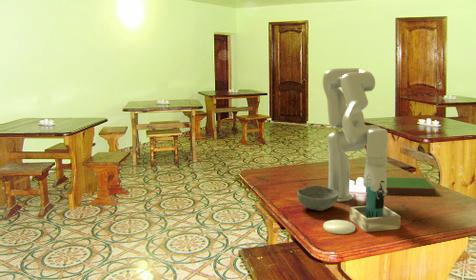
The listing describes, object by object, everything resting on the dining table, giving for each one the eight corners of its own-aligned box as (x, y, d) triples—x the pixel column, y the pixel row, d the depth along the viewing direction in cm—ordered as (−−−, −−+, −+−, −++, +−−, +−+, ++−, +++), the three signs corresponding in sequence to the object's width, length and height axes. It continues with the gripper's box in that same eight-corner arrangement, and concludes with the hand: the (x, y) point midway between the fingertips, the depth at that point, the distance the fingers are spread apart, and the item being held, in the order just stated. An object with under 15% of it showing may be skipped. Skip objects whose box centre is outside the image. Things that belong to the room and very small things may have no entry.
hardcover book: (381, 194, 204) (381, 187, 204) (375, 184, 223) (375, 177, 222) (436, 196, 200) (436, 188, 200) (425, 185, 218) (426, 178, 218)
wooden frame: (349, 219, 173) (349, 207, 172) (381, 216, 175) (381, 204, 174) (365, 232, 159) (366, 219, 158) (400, 228, 162) (400, 216, 161)
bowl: (310, 218, 174) (310, 199, 173) (289, 205, 190) (289, 188, 189) (346, 211, 181) (347, 193, 180) (323, 200, 197) (323, 183, 196)
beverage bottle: (379, 220, 170) (380, 172, 167) (385, 226, 164) (387, 176, 160) (363, 220, 170) (364, 172, 167) (368, 227, 164) (370, 177, 160)
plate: (318, 223, 168) (318, 221, 168) (347, 221, 170) (347, 218, 170) (330, 235, 157) (330, 232, 156) (360, 232, 159) (361, 230, 159)
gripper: (356, 156, 170) (355, 199, 173) (378, 166, 153) (376, 213, 157) (374, 155, 172) (372, 198, 175) (397, 165, 155) (395, 212, 158)
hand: (374, 205), depth 166 cm, fingers closed on beverage bottle, 6 cm apart
